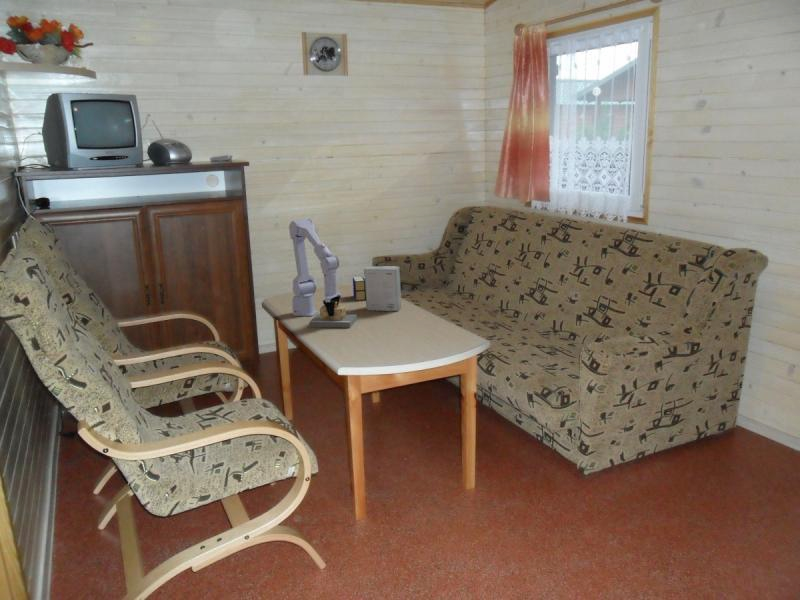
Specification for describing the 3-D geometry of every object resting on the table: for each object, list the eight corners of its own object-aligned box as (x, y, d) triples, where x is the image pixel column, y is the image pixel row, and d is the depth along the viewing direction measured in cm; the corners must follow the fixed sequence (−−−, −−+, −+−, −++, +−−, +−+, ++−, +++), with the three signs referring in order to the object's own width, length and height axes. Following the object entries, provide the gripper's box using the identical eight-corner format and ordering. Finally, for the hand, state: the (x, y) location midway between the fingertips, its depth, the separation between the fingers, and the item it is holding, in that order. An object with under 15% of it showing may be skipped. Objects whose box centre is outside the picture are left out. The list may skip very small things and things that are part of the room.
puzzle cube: (353, 296, 332) (352, 277, 329) (372, 294, 334) (371, 275, 331) (355, 300, 322) (354, 281, 320) (375, 299, 324) (374, 279, 322)
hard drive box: (401, 307, 307) (400, 266, 302) (397, 311, 300) (395, 269, 295) (370, 306, 311) (368, 265, 306) (365, 310, 304) (363, 269, 299)
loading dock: (309, 327, 280) (309, 321, 280) (317, 319, 292) (317, 313, 291) (350, 327, 278) (349, 322, 277) (356, 319, 289) (356, 314, 288)
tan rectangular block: (320, 319, 282) (319, 308, 281) (324, 316, 288) (323, 305, 286) (342, 320, 281) (342, 309, 279) (345, 316, 286) (345, 305, 285)
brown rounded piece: (327, 308, 281) (326, 302, 281) (329, 305, 285) (329, 300, 285) (335, 308, 281) (335, 302, 280) (338, 306, 284) (337, 300, 284)
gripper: (335, 287, 273) (337, 318, 276) (344, 280, 286) (345, 309, 290) (319, 287, 274) (321, 318, 277) (328, 280, 288) (330, 309, 291)
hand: (332, 313), depth 284 cm, fingers closed on tan rectangular block, 5 cm apart
